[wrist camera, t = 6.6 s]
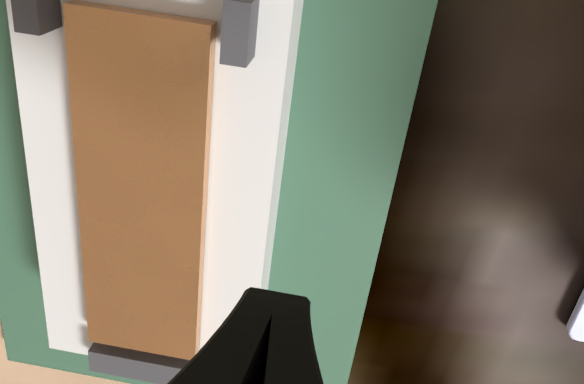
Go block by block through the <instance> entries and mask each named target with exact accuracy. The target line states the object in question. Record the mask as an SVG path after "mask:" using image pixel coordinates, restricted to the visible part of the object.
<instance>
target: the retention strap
mask: <svg viewBox="0 0 584 384" xmlns="http://www.w3.org/2000/svg"><path fill="white" fill-rule="evenodd" d="M63 16H64V29H65V42H66V55H67V68H68V81H69V94H70V107H71V120H72V133H73V146H74V159H75V172H76V185H77V198H78V211H79V224H80V237H81V250H82V263H83V276H84V289H85V302H86V315H87V328H88V341H90V342H95V343H101V344H106V345H111V346H117V347H122V348H127V349H133V350H138V351H143V352H149V353H154V354H159V355H165V356H170V357H175V358H181V359H186V360H191V359H192V358H193V357H194V356H195V355H196V354H197V353H198V351H199V348H200V329H201V310H202V291H203V272H204V253H205V234H206V216H207V197H208V178H209V159H210V140H211V121H212V102H213V83H214V64H215V45H216V26H217V21H213V20H207V19H200V18H193V17H187V16H180V15H174V14H167V13H160V12H154V11H147V10H141V9H134V8H127V7H121V6H114V5H108V4H101V3H94V2H88V1H81V0H70V1H67V2H64V3H63Z"/></svg>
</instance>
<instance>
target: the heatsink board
mask: <svg viewBox="0 0 584 384" xmlns="http://www.w3.org/2000/svg"><path fill="white" fill-rule="evenodd" d="M67 1H70V0H0V318H1V324H2V330H3V335H4V341H5V346H6V352H7V358H8V360H10V361H16V362H21V363H26V364H31V365H37V366H42V367H47V368H52V369H58V370H63V371H68V372H73V373H78V374H84V375H89V376H94V377H99V378H105V379H110V380H115V381H120V382H126V383H131V384H167V383H168V382H169V381H170V380H171V379H172V378H173V377H174V376H175V375H176V374H177V373H178V372H179V371H180V370H181V369H182V368H183V367H184V366H185V365H186V364H187V363H188V362H189V361H190V360H186V359H181V358H175V357H170V356H165V355H159V354H154V353H149V352H143V351H138V350H133V349H127V348H122V347H117V346H111V345H106V344H101V343H95V342H90V341H88V328H87V315H86V302H85V289H84V276H83V263H82V250H81V237H80V224H79V211H78V198H77V185H76V172H75V159H74V146H73V133H72V120H71V107H70V94H69V81H68V68H67V55H66V42H65V29H64V16H63V3H64V2H67ZM81 1H88V2H94V3H101V4H108V5H114V6H121V7H127V8H134V9H141V10H147V11H154V12H160V13H167V14H174V15H180V16H187V17H193V18H200V19H207V20H213V21H217V26H216V45H215V64H214V83H213V102H212V121H211V140H210V159H209V178H208V197H207V216H206V234H205V253H204V272H203V291H202V310H201V329H200V348H199V350H200V349H201V348H202V347H203V346H204V345H205V343H206V342H207V341H208V340H209V339H210V338H211V336H212V335H213V334H214V333H215V332H216V330H217V329H218V328H219V327H220V326H221V324H222V323H223V322H224V320H225V319H226V318H227V317H228V315H229V314H230V313H231V311H232V310H233V308H234V307H235V306H236V304H237V303H238V301H239V300H240V298H241V297H242V295H243V293H244V291H245V290H246V289H248V288H250V287H254V288H260V289H265V290H271V291H277V292H282V293H288V294H293V295H299V296H305V297H307V298H308V299H309V301H310V302H311V304H310V317H311V327H312V334H313V340H314V346H315V351H316V355H317V359H318V363H319V367H320V372H321V376H322V379H323V383H324V384H347V383H348V378H349V374H350V370H351V366H352V361H353V357H354V353H355V349H356V345H357V340H358V336H359V332H360V328H361V323H362V319H363V315H364V311H365V307H366V302H367V298H368V294H369V290H370V285H371V281H372V277H373V273H374V269H375V264H376V260H377V256H378V252H379V247H380V243H381V239H382V235H383V231H384V226H385V222H386V218H387V214H388V209H389V205H390V201H391V197H392V193H393V188H394V184H395V180H396V176H397V171H398V167H399V163H400V159H401V155H402V150H403V146H404V142H405V138H406V133H407V129H408V125H409V121H410V117H411V112H412V108H413V104H414V100H415V95H416V91H417V87H418V83H419V79H420V74H421V70H422V66H423V62H424V57H425V53H426V49H427V45H428V41H429V36H430V32H431V28H432V24H433V19H434V15H435V11H436V7H437V3H438V0H81Z"/></svg>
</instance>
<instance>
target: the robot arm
mask: <svg viewBox="0 0 584 384" xmlns="http://www.w3.org/2000/svg"><path fill="white" fill-rule="evenodd" d="M310 304H311V302H310V301H309V299H308V298H307V297H305V296H299V295H293V294H288V293H282V292H277V291H271V290H265V289H260V288H254V287H250V288H248V289H246V290H245V291H244V293H243V295H242V297H241V298H240V300H239V301H238V303H237V304H236V306H235V307H234V308H233V310H232V311H231V313H230V314H229V315H228V317H227V318H226V319H225V320H224V322H223V323H222V324H221V326H220V327H219V328H218V329H217V330H216V332H215V333H214V334H213V335H212V336H211V338H210V339H209V340H208V341H207V342H206V343H205V345H204V346H203V347H202V348H201V349H200V350H199V351H198V353H197V354H196V355H195V356H194V357H193V358H192V359H191V360H190V361H189V362H188V363H187V364H186V365H185V366H184V367H183V368H182V369H181V370H180V371H179V372H178V373H177V374H176V375H175V376H174V377H173V378H172V379H171V380H170V381H169V382H168V383H167V384H324V383H323V379H322V376H321V372H320V367H319V363H318V359H317V355H316V351H315V346H314V340H313V334H312V327H311V317H310ZM566 329H567V331H568V334H569V336H570V337H571V338H572V339H574V340H577V341H582V342H584V289H583V291H582V293H581V295H580V297H579V299H578V302H577V304H576V306H575V308H574V310H573V312H572V314H571V316H570V318H569V321H568V323H567V326H566Z"/></svg>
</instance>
